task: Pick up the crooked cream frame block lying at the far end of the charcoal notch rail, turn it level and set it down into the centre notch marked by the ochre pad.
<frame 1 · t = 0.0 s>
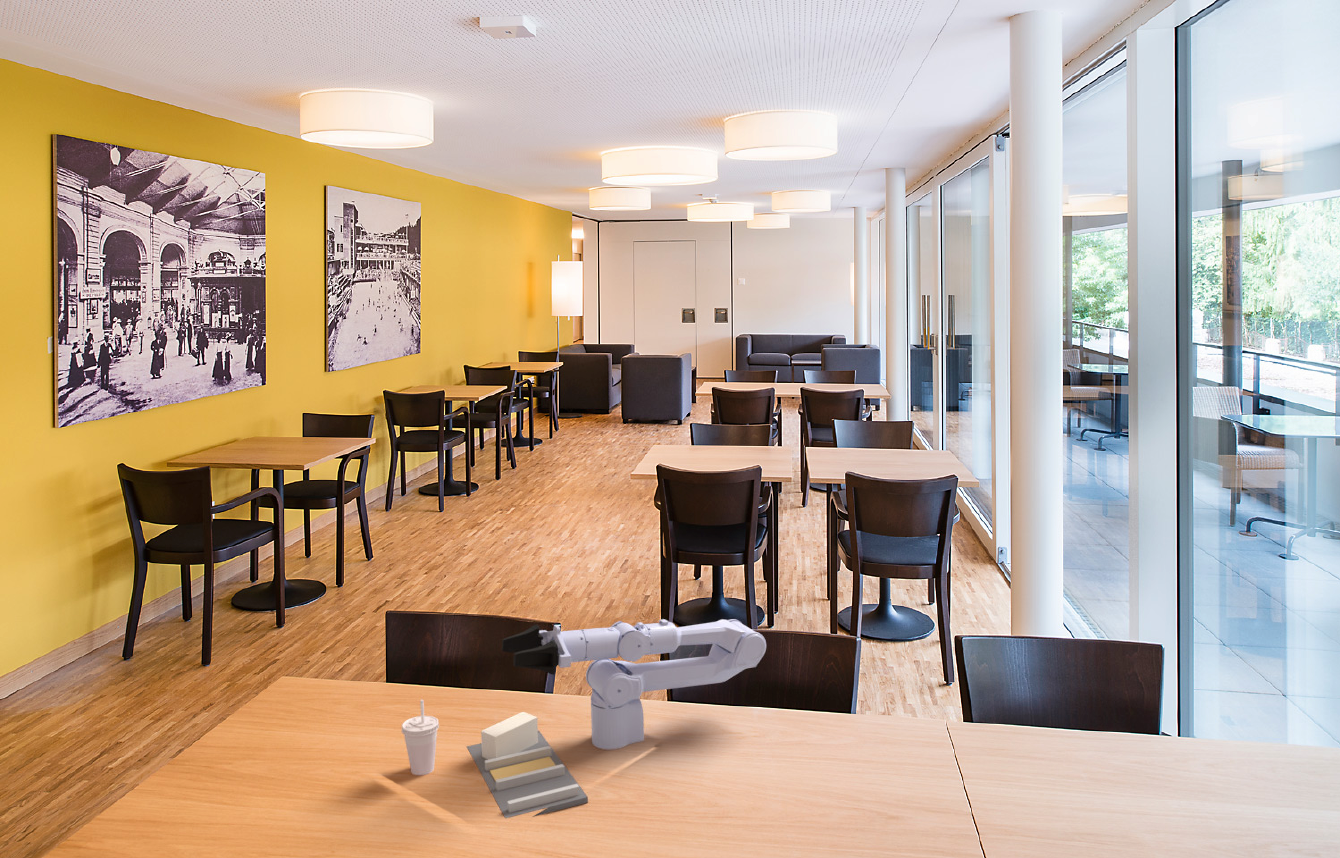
hand: (508, 652, 161), 22 cm above the table, tool horizontal, fingers open, 7 cm apart
notch rail: (523, 775, 161), on the table
frame block: (510, 749, 168), point 1 cm above the table, touching notch rail
smoothie: (423, 776, 162), on the table
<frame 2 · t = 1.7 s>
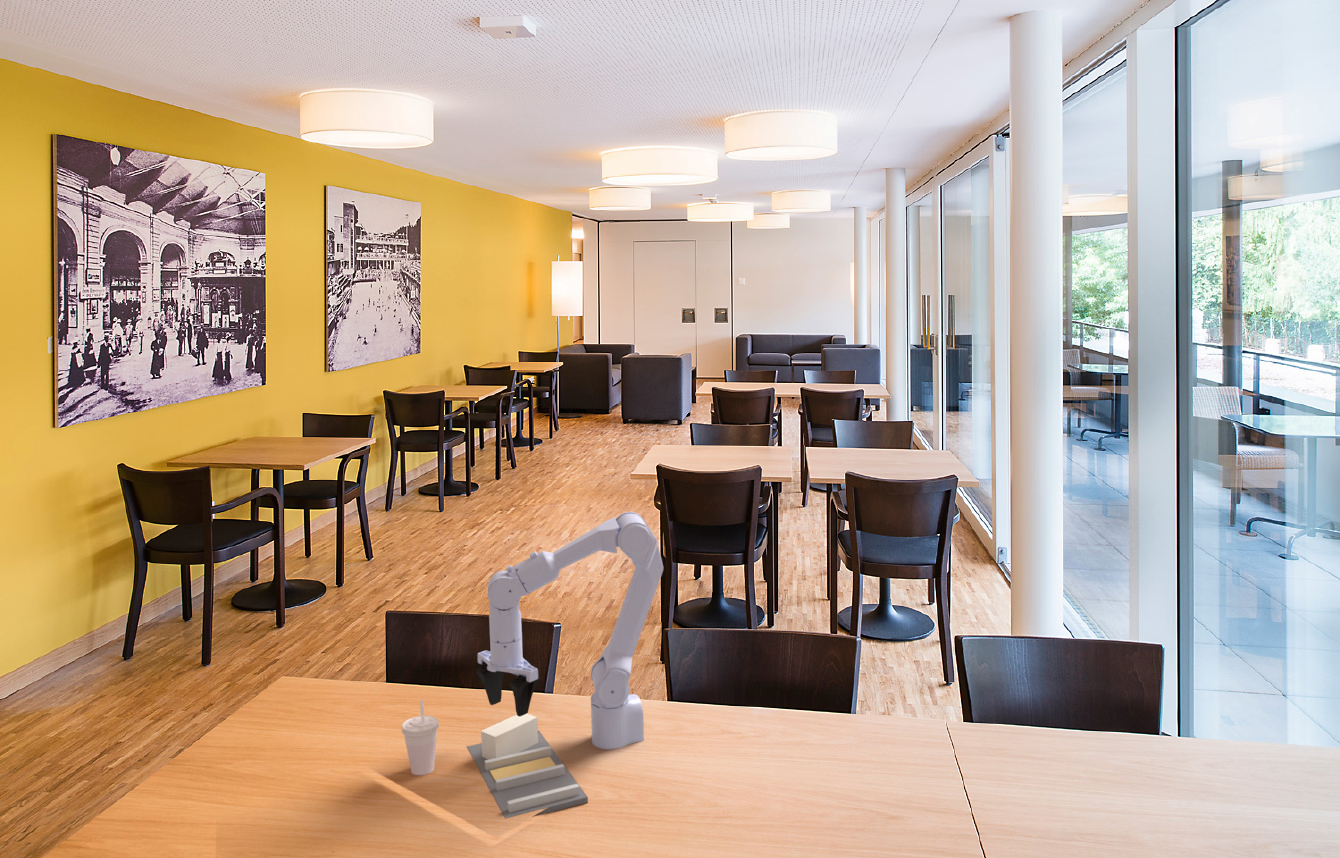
hand: (508, 708, 167), 9 cm above the table, tool pointing down, fingers open, 7 cm apart
nothing on the table moved.
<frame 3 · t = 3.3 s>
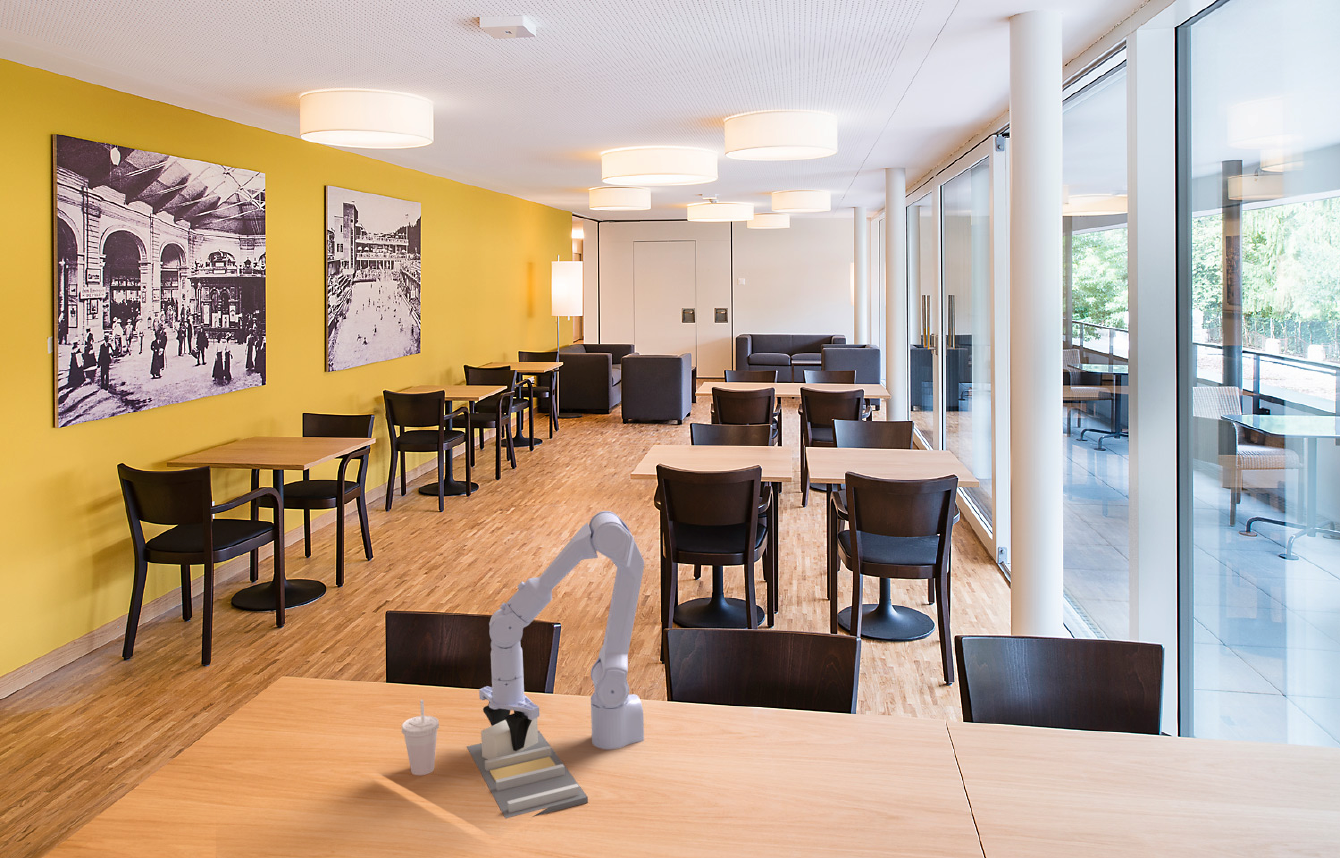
hand: (510, 745, 168), 2 cm above the table, tool pointing down, fingers closed on frame block, 4 cm apart
frame block: (510, 749, 168), point 1 cm above the table, touching gripper, notch rail
everything else where it was.
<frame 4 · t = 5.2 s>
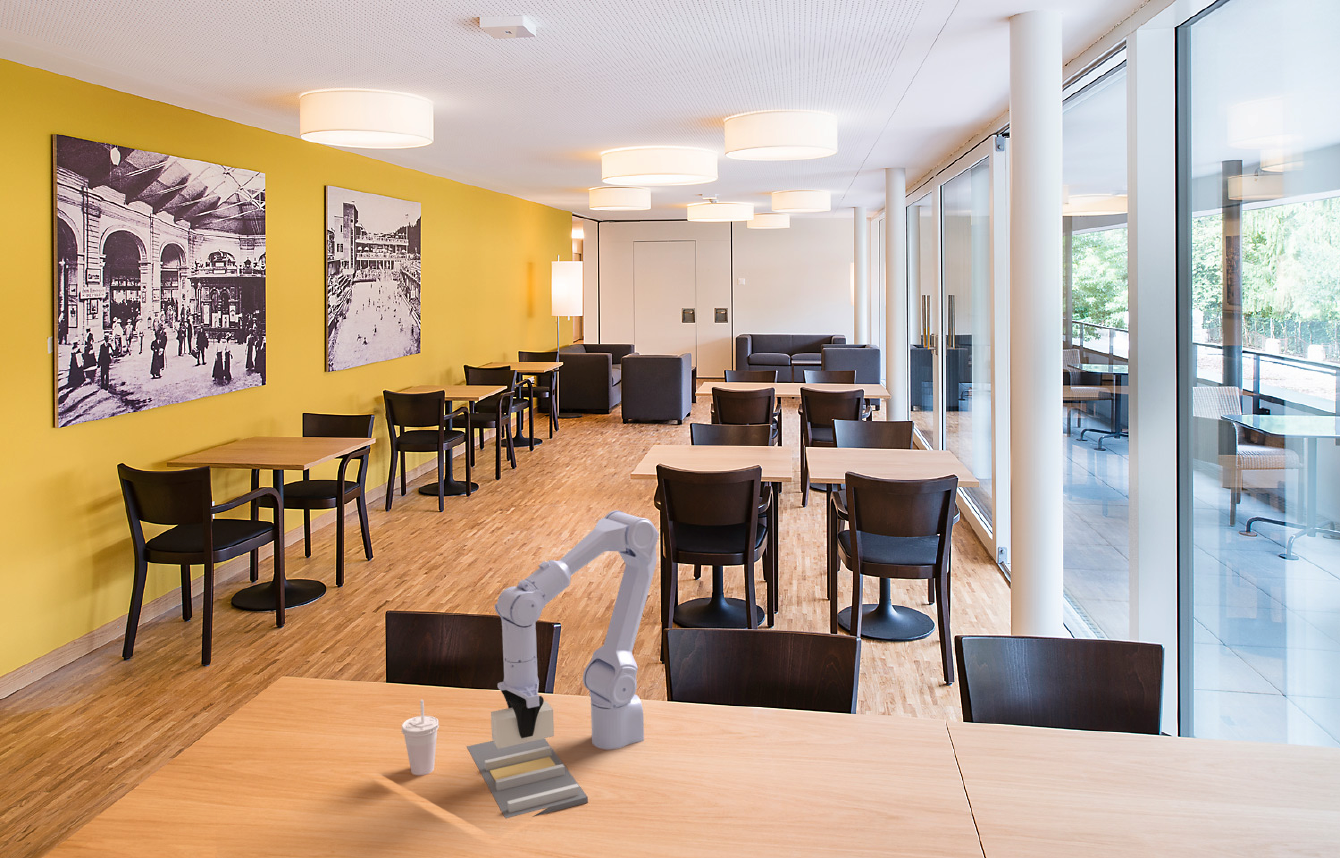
hand: (522, 731, 159), 9 cm above the table, tool pointing down, fingers closed on frame block, 4 cm apart
frame block: (523, 737, 159), point 7 cm above the table, touching gripper
everything else where it was.
when the fingers open (3 cm above the table, at t = 6.9 s): frame block stays where it is, resting on notch rail.
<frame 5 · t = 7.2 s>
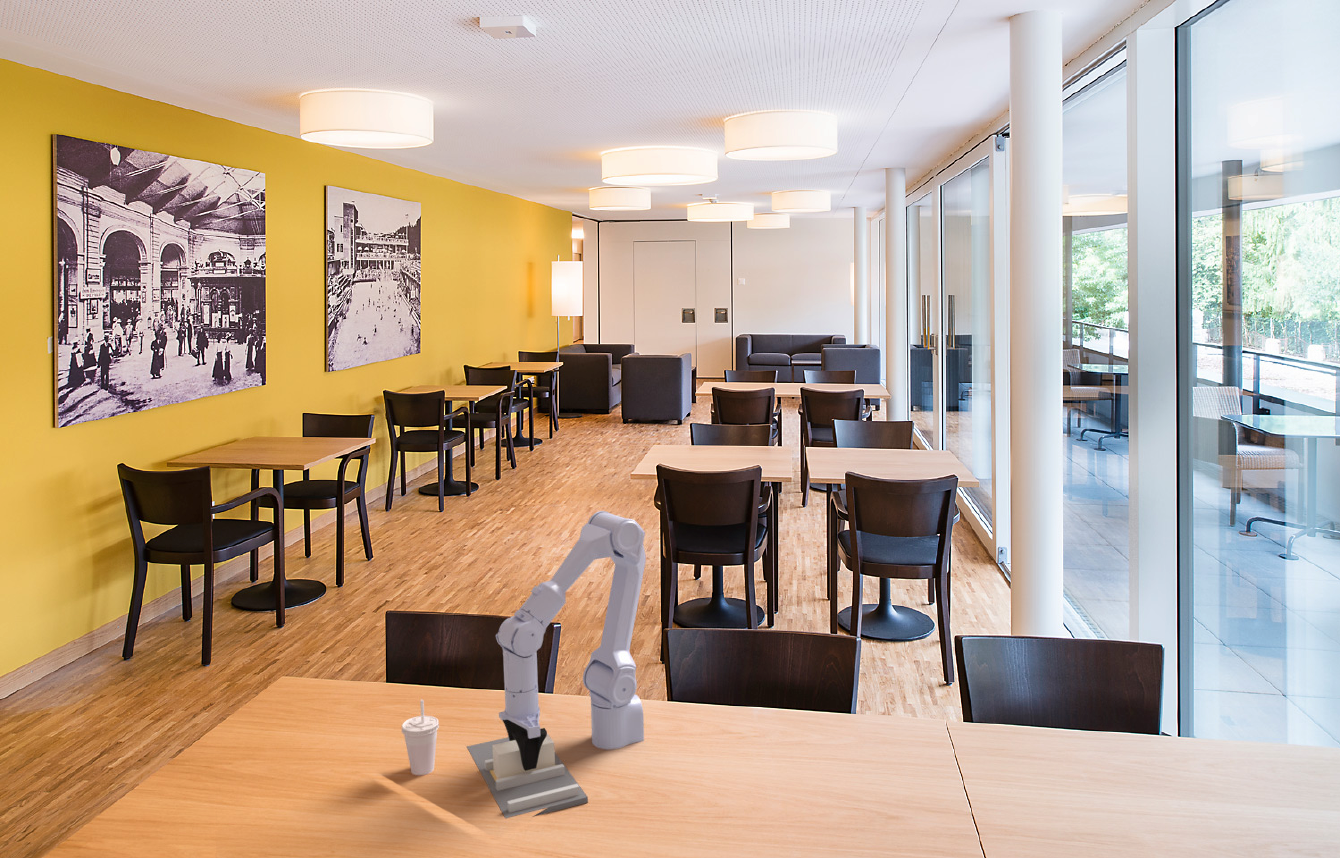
hand: (524, 759, 160), 3 cm above the table, tool pointing down, fingers open, 6 cm apart
frame block: (524, 770, 160), point 1 cm above the table, touching notch rail
everything else where it was.
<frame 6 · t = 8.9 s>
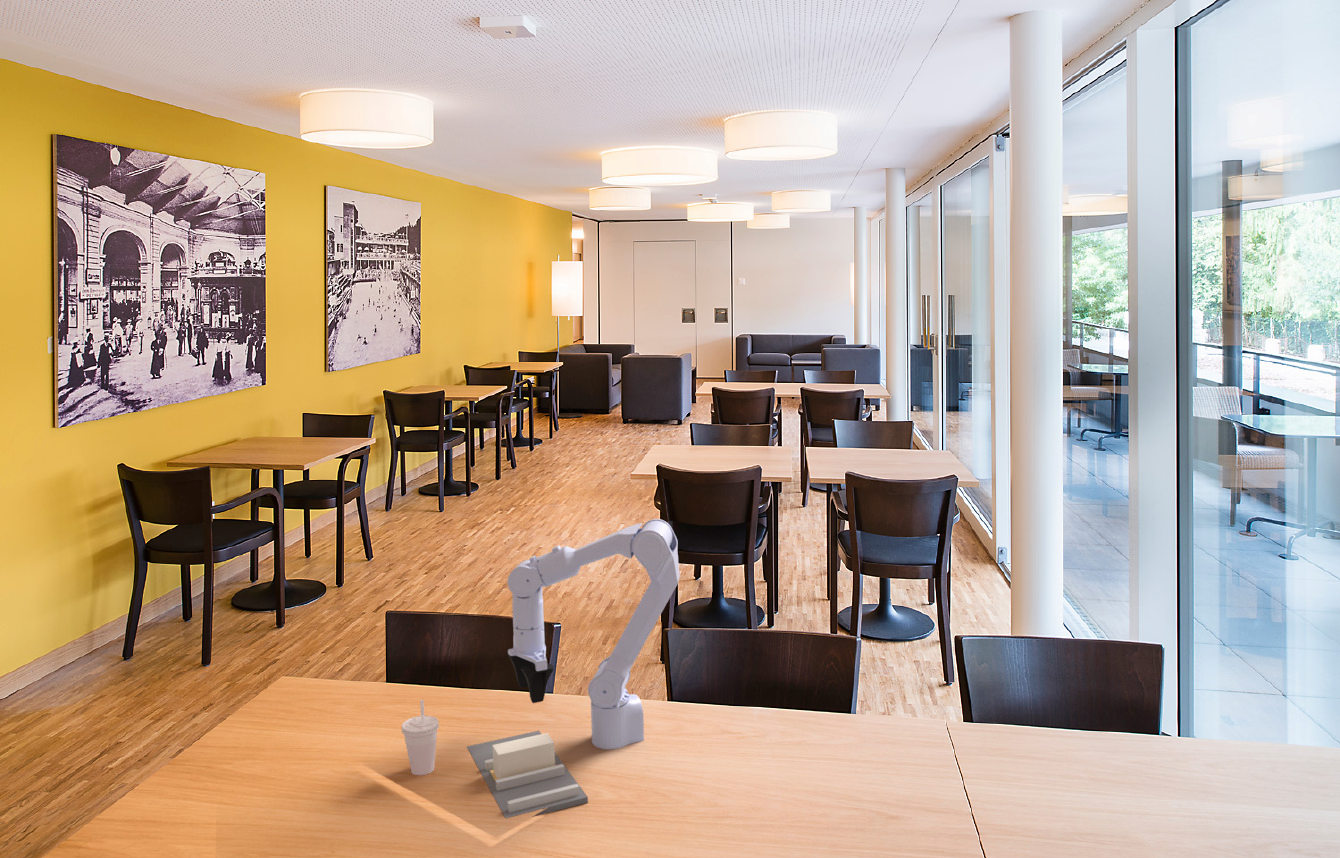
hand: (531, 694, 173), 9 cm above the table, tool pointing down, fingers open, 7 cm apart
nothing on the table moved.
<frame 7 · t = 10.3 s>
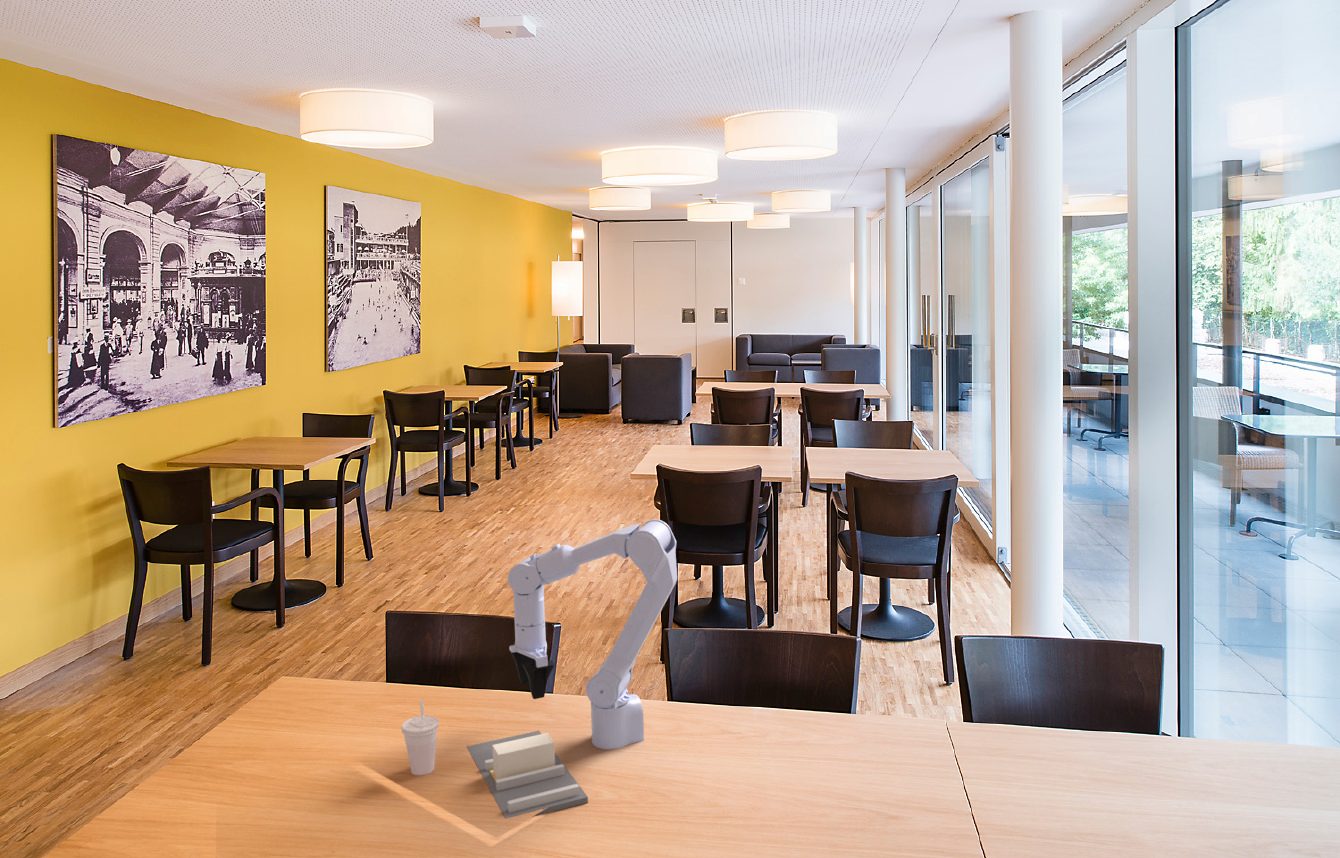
hand: (532, 690, 174), 9 cm above the table, tool pointing down, fingers open, 7 cm apart
nothing on the table moved.
at the end: frame block 0.0 cm off-centre on the notch rail, point 1.2 cm above the notch rail's base; frame block tilted 0°; the gripper is holding nothing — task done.
